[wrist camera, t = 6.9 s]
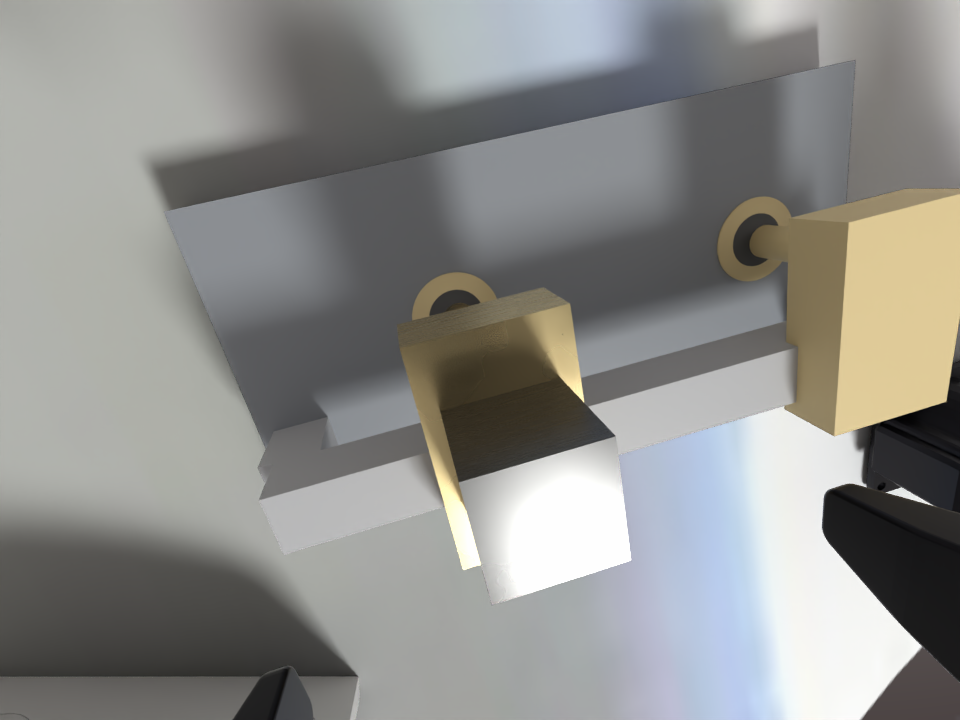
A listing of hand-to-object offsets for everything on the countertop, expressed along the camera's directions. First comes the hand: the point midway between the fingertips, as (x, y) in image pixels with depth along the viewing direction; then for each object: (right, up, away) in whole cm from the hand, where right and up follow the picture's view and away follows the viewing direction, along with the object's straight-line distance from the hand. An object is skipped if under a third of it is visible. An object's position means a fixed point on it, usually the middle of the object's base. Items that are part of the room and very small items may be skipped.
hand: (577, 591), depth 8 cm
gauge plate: (+1, +6, +12) cm, 13 cm away
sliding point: (-2, +3, +10) cm, 11 cm away
